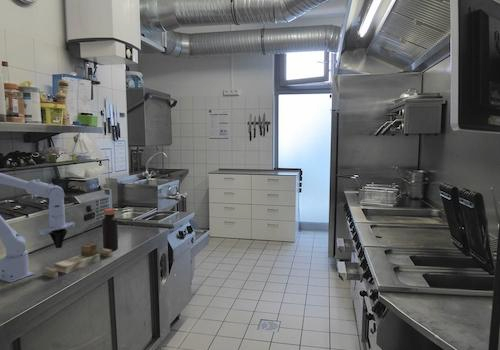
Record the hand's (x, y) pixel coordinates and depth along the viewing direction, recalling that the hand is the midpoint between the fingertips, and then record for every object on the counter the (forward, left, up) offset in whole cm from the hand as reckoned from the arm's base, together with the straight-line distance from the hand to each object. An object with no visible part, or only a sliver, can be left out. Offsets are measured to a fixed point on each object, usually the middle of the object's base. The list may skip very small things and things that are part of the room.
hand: (58, 247), depth 146 cm
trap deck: (+8, -3, -9) cm, 13 cm away
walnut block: (+12, -3, -6) cm, 14 cm away
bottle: (+29, +2, -10) cm, 31 cm away
